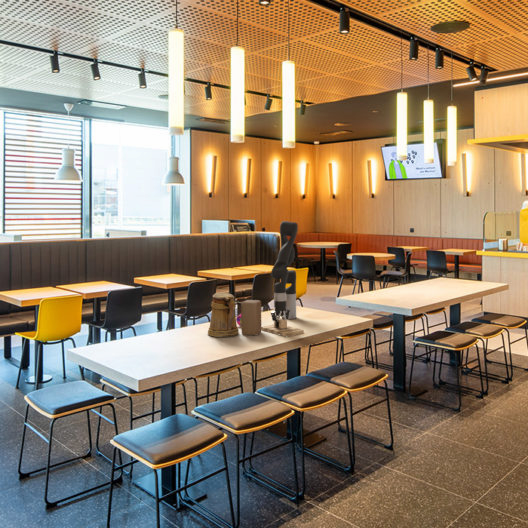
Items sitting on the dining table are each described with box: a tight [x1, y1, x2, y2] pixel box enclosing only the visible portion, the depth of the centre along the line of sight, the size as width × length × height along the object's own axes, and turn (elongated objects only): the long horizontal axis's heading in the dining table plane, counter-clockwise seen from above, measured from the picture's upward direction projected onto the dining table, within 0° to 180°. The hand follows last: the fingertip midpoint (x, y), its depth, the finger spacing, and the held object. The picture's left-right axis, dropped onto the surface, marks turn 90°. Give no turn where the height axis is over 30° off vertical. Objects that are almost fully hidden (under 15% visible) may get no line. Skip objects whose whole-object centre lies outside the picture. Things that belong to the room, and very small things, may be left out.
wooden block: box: [240, 299, 262, 336], centre depth 327 cm, size 10×10×20 cm
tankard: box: [207, 292, 239, 338], centre depth 324 cm, size 18×24×25 cm
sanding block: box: [273, 317, 288, 330], centre depth 332 cm, size 7×4×6 cm, turn 38°
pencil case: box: [236, 313, 241, 327], centre depth 356 cm, size 22×9×9 cm, turn 166°
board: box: [261, 324, 305, 337], centre depth 332 cm, size 24×14×2 cm, turn 39°
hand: (280, 326), depth 332 cm, fingers closed on sanding block, 4 cm apart
